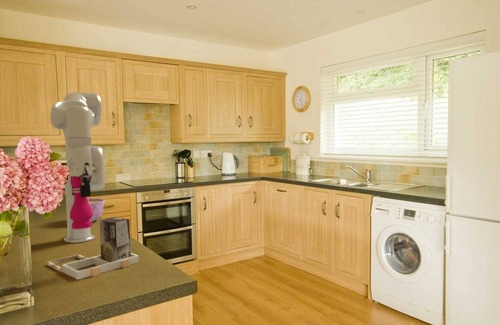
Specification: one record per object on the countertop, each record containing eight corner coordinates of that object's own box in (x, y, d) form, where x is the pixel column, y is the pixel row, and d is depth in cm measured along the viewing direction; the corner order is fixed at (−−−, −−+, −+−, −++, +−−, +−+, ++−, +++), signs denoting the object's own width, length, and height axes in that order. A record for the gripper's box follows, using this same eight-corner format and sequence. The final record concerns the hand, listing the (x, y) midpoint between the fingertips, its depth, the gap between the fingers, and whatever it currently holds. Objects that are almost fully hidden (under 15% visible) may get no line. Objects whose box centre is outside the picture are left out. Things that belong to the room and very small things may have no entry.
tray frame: (46, 264, 136) (46, 261, 136) (78, 257, 144) (78, 254, 144) (60, 271, 128) (60, 268, 128) (92, 263, 137) (92, 260, 137)
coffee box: (131, 262, 137) (130, 218, 136) (117, 267, 132) (115, 222, 131) (114, 258, 142) (113, 216, 141) (100, 263, 136) (98, 219, 136)
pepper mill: (67, 227, 128) (64, 169, 128) (89, 224, 133) (86, 168, 133) (74, 230, 123) (71, 169, 123) (96, 227, 128) (94, 168, 128)
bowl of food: (66, 220, 214) (66, 199, 214) (104, 216, 223) (103, 197, 222) (66, 227, 196) (65, 205, 195) (106, 223, 205) (106, 202, 204)
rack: (62, 271, 128) (62, 264, 128) (122, 256, 145) (122, 249, 145) (79, 280, 120) (78, 272, 120) (140, 262, 137) (140, 256, 137)
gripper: (57, 143, 130) (59, 195, 131) (79, 142, 119) (81, 199, 120) (79, 143, 136) (81, 192, 137) (102, 142, 124) (104, 196, 125)
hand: (81, 195), depth 128 cm, fingers closed on pepper mill, 5 cm apart
